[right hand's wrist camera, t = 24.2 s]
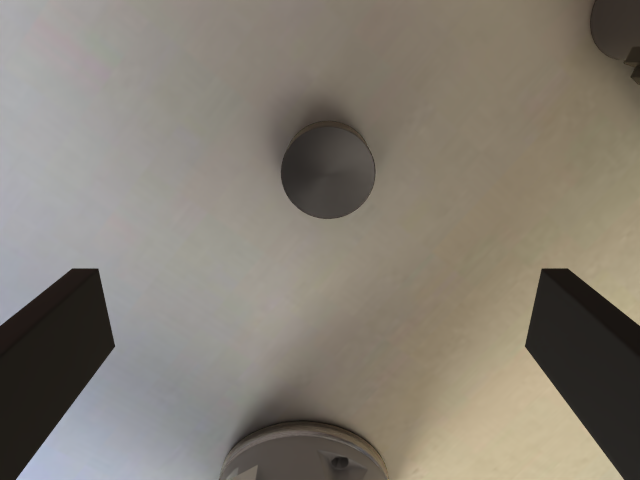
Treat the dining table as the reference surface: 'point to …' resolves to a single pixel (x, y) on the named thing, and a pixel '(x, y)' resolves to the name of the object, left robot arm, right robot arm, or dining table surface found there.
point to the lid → (328, 170)
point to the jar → (616, 26)
